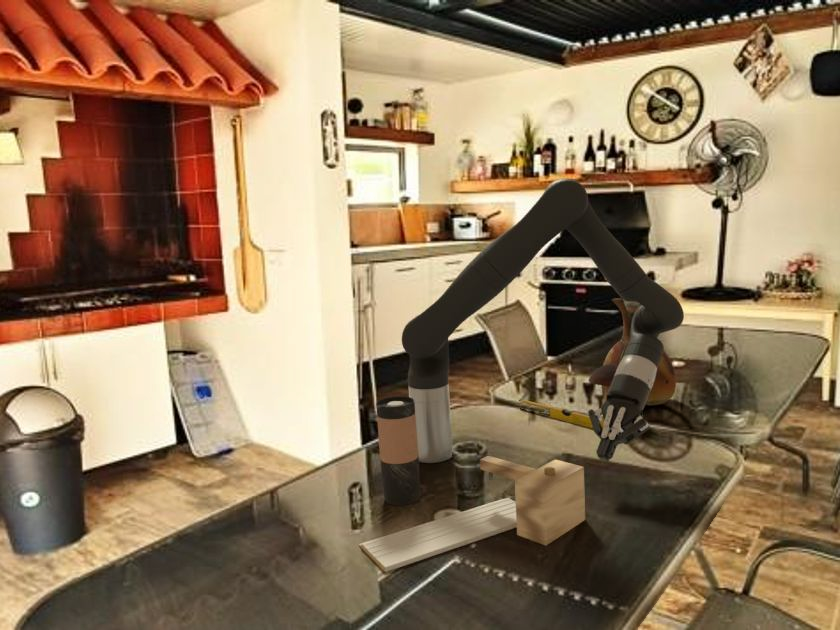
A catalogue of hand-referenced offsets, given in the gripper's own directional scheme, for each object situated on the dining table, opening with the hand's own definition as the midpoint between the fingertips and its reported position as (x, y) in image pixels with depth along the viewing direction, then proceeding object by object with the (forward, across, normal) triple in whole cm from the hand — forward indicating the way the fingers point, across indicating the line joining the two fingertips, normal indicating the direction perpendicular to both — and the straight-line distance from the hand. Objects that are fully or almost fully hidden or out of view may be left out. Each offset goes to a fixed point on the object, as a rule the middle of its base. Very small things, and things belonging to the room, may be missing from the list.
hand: (602, 459), depth 129 cm
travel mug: (+23, -30, -13) cm, 40 cm away
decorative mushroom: (-23, -21, +33) cm, 46 cm away
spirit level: (-18, -30, +29) cm, 46 cm away
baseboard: (+26, -14, -16) cm, 33 cm away
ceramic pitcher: (-36, -23, +46) cm, 63 cm away
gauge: (+17, -6, -7) cm, 20 cm away
